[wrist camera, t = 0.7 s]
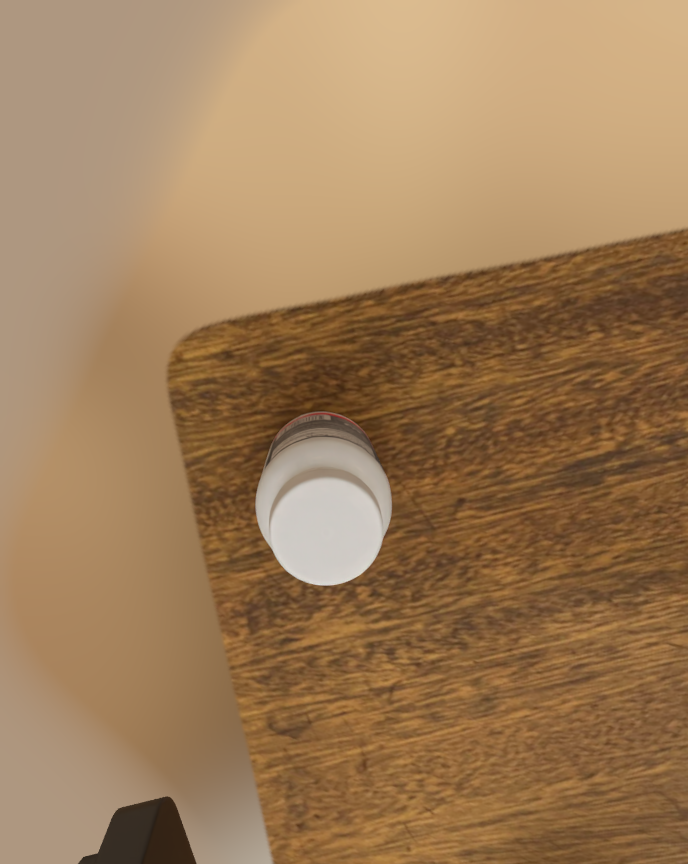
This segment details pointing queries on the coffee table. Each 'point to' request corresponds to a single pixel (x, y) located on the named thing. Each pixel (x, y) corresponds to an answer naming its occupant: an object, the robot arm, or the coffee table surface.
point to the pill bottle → (323, 499)
